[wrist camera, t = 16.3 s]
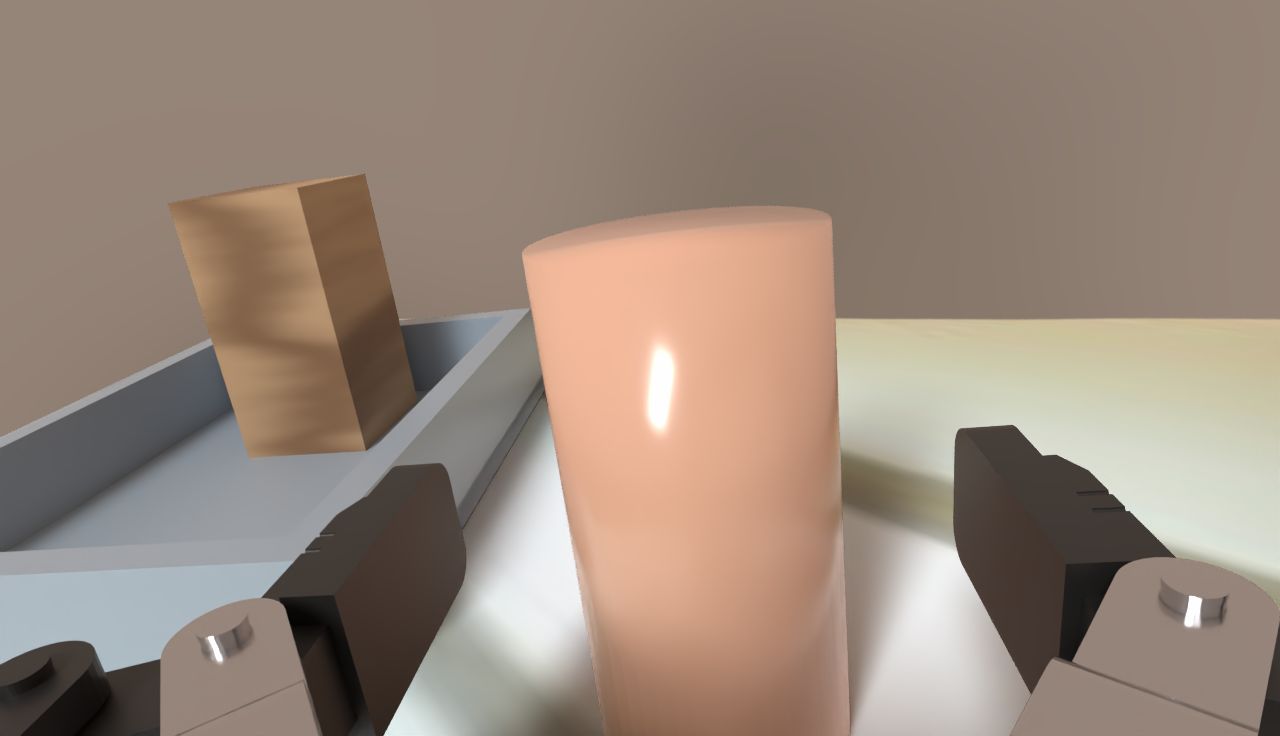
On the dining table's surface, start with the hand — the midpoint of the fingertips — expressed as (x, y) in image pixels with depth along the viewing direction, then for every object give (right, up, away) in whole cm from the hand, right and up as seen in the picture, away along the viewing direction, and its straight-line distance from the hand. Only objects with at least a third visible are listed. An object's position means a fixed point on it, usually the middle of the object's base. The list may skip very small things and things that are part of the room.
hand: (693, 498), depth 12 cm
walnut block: (-14, 0, +20) cm, 24 cm away
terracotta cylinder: (+1, -5, +4) cm, 6 cm away
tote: (-14, -3, +15) cm, 21 cm away
